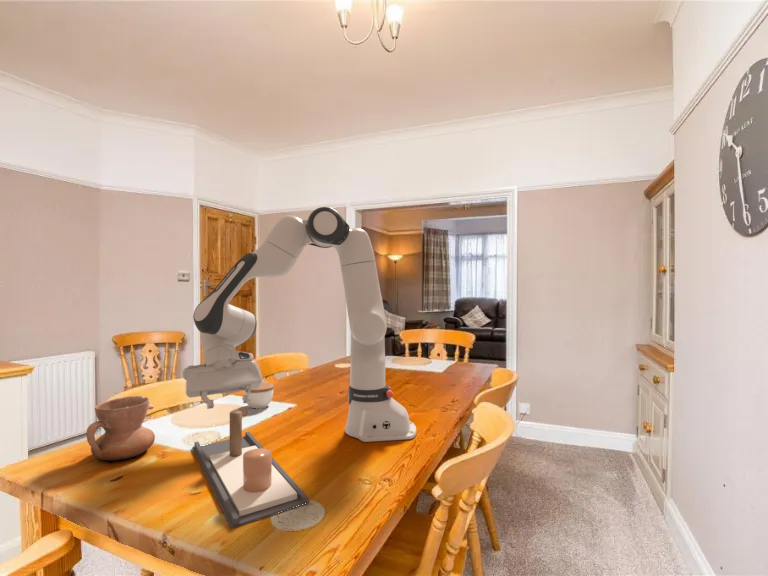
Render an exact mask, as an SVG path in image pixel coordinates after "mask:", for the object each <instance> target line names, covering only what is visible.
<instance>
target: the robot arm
mask: <svg viewBox="0 0 768 576" xmlns="http://www.w3.org/2000/svg"><path fill="white" fill-rule="evenodd" d="M308 245H309V246H314V247H317V248H321V249H322V248H323V249H329V248H335V250H336V252H337V254H338V258H339V264H340V270H341V277H342V281H343V288H344V295H345V301H346V309H347V317H348V322H349V330H350V363H349V364H350V366H349V368H350V371H349V376H350V377H349V378H350V379H349V382H350V383H349V386H348V391H347V392H348V394H347V395H348V399H347V401H348V404H349V405H348V406H349V407H348V414H347V420H346V424H345V427H344V432H345V434H346V435H348V436H350V437H353V438H355V439H357V440H360V441H362V442H365V443H367V442H371V443H372V442H385V441H401V440H411V439H413V438H415V437H416V435H417V427H416V426H417V425H415V423H414V422H412V421H411V420H410V416H409V413H408V411H407V409H406V408H405V407H404V406H403V405H402V404H401V403H399V402H398V401H397V400H395V399H394V398H393V395H394V392H393V390H392V388H391V386H390V385H387V384H386V345H385V344H386V343H385V336H386V334H387V331H388V330H387V329H388V324H387V318H386V312H385V306H384V302H383V296H382V291H381V286H380V281H379V280H380V279H379V274H378V269H377V263H376V257H375V252H374V248H373V245H372V241H371V238H370V235H369V234H368V232H367V231H366V230H364V229H362V228H358V227H352V228H351V227H350V225H349V224H348V223H347V221H346V220H345V219H344V218H343V216H342V214H340V213H339V211H337V210H336V209H334V208H332V207H329V206H321V207H318V208H315V209H314V210H313V211H312V212H311V213H310V214H309V216H308V218H307V219H302V218H300V217H298V216H297V215H292V214H291V215H290V214H289V215H288V214H287V215H284V216H282V217H281V218H280V219H279V221H278V222H277V223H275V225H274V227H273V228H272V229H271V230H270V232H269V233H268V235H267V236H266V238H265V239H264V241H263V242H262V244H261V245H260V246H259V247H258V248H257V249H256V250H254V251H252V252H248V253H245V254H244V255H243V256H241V258H239V260H238V261H237V262H235V264H234V265H233V266H232V268H231V269H230V270H229V271H228V272H227V273H226V275H225V276H224V277H223V278H222V279H221V280H220V282H219V283H218V284H217V285H216V287H215V288H214V289H213V290H212V291H211V292H210V294H208V295H207V296H206V297H205V298H204V299H203V300H201V301H200V303H199V304H197V305H196V307H195V310H194V311H193V317H192V318H193V322H194V325H195V327H196V329H197V330H198V331H199V333H200V344H201V348H202V349H203V362H204V363H203V364H196V365H188V366H186V367H184V369H183V370H182V376H183V379H184V380H185V381H186V382H185V395H186V396H187V397H188V398H190V399H191V398H197V397H200V399H201V400H202V401H203V403H205V405H206V409H207V410H209V409H214V407H215V403H214V399H210V398H209V396H211V395H218V394H219V395H220V394H227V393H234V392H240V391H241V392H242V391H244V390H245V393H247V394H246V395H244V394H243V396H242V398H241V399H242V403H243V404H247V403H249V401H250V398H249V394H250V391H251V389H256V388H259V387H260V385H261V383H262V382H263V377H262V372H261V370H260V368H259V365H258V364H257V362H256V361H254V354H252V353H251V352H245V351H239V350H236V349H235V348H236V347H238V346H241V345H243V344H244V343H246V342H247V341H249V340H251V339H252V337H253V336H254V335H255V333H256V331H257V325H258V324H257V323H258V322H257V319H256V316H255V314H254V312H253V313H252V312H250V311H248V310H246V309H243V308H242V307H237V306H236V305H232V304H231V303H230V302H231V300H233V298H234V297H235V295H237V293H239V291H240V290H241V288H242V287H243V286H244V284H246V283H247V282H248V281H250V280H253V279H254V278H255V279H256V278H278V277H282V276H285V275H287V274H288V273H289V272H290V271H291V270H292V269H293V267H294V265H295V263H296V262H297V260H298V258H299V257H300V255H301V254H302V253H301V252H302V251H303V250H304V249H305V247H307V246H308ZM229 303H230V304H229Z"/></svg>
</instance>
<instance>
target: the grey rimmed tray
mask: <svg viewBox="0 0 768 576" xmlns="http://www.w3.org/2000/svg"><path fill="white" fill-rule="evenodd" d="M244 433H245V435H244V436H242V448H246V447H251V446H255V445H256V447H257V448H264V447H263V445H261V443H260V442H259V441H258V440H257V439H256V438H255V437H254V435H253V434H252V433H251V432H250V431H245V432H244ZM210 443H211V444H209V443H207V444H208V445H205V446H200V445H201V443H200V442H199V441H194V445H193V446H192V450H193V449H194V450H193V452H194V454H196V455H195V456H197V457H196V458H198V459H197V461H198V460H199V461H198V463H199V465H200V467H201V469H202V472H203V473H204V475H205V477H206V479H207V482H208V483H209V485H210V488H211V490H212V492H213V494H214V496H215V498H216V500H217V502H218V504H219V506H220V507H221V510H222V512H223V514H224V517H225V518H226V521H227V522H228V525H229V527H230V529H234V528H237V527H239V526H240V527H241V526H242V525H243V526H244V525H247V524H249V523H253V522H256V521H258V520H262V519H265V518H268V517H271V516H273V514H274V515H277V514H276V513H278V512H281V511H284V510H287V509H290V508H293V507H296V506H298V505H302V504H305V503H309V502H310V500H309V499H308V495H307V494H306V492H304V491H303V490H302V488H301V487H300V486H299V485H298V484H297V483H296V482H295V481H294V480H293V479H292V477H291V476H290V475H289V474H288V473H287V471H285V470H284V468H282V467H281V466H280V464H279V463H278V462H277V461H276V460H275V459H274V458H273V457H272V465H273V466H274V467H275V468H276V470H277V471H278V472H279V473H280V474H281V475H282V476H283V478H284V479H285V480H286V481H287V482H288V483H289V484H290V486H291V487H292V488H293V489H294V490H295V491H296V492H297V499H295V500H292V501H289V502H285V503H282V504H279V505H276V506H273V507H269V508H266V509H263V510H260V511H256V512H253V513H250V514H247V515H244V516H240V517H239V515H238V513H237V512H236V510H235V508H234V506H233V504H232V502H231V501H230V499H229V497H228V495H227V493H226V491H225V489H224V488H223V486H222V484H221V482H220V480H219V478H218V477H217V475H216V473H215V471H214V469H213V467H212V465H211V464H210V462H209V456H210V455H214V454H219V453H223V452H228V451H230V438H229V439H225V440H220V441H216V442H215V441H214V442H210ZM309 504H310V503H309ZM305 505H306V504H305ZM302 506H303V505H302ZM296 508H297V507H296ZM293 509H294V508H293ZM290 510H291V509H290ZM287 511H288V510H287ZM284 512H285V511H284ZM281 513H282V512H281ZM278 514H279V513H278Z"/></svg>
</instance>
